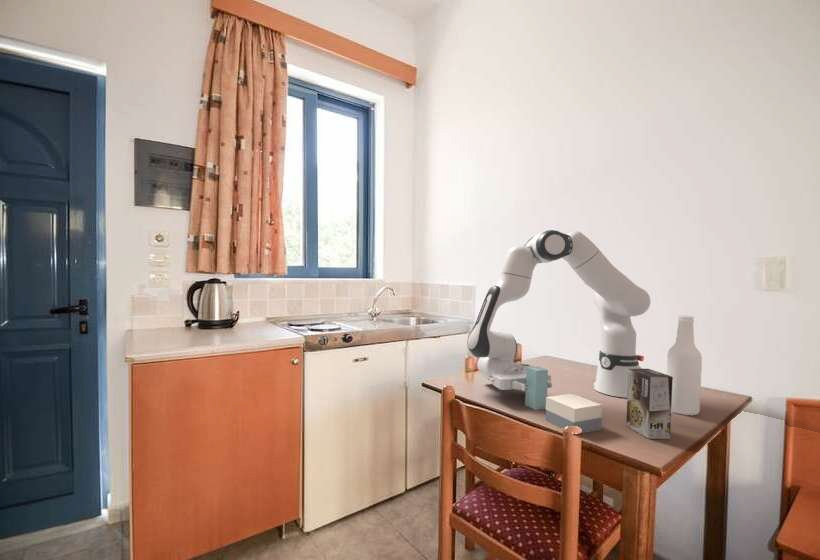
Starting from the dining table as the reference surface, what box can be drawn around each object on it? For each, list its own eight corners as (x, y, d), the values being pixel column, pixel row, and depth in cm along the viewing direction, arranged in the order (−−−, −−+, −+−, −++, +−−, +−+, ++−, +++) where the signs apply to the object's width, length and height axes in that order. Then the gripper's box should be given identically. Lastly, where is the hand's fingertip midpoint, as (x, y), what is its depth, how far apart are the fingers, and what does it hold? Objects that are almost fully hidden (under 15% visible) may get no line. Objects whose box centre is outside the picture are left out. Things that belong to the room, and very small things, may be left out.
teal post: (536, 403, 122) (537, 366, 122) (546, 408, 118) (548, 369, 118) (525, 405, 120) (526, 367, 120) (534, 409, 116) (536, 370, 116)
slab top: (571, 405, 112) (571, 393, 112) (601, 417, 103) (601, 404, 103) (545, 409, 108) (546, 397, 108) (574, 422, 99) (574, 408, 99)
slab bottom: (572, 418, 112) (573, 406, 112) (601, 431, 102) (601, 418, 102) (545, 421, 108) (546, 409, 108) (572, 436, 99) (573, 422, 99)
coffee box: (671, 439, 98) (674, 376, 98) (647, 439, 97) (650, 376, 97) (646, 425, 107) (649, 368, 107) (624, 425, 106) (627, 367, 106)
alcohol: (694, 418, 114) (699, 318, 113) (660, 409, 120) (665, 315, 120) (702, 412, 119) (707, 316, 119) (670, 404, 126) (674, 313, 126)
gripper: (485, 368, 127) (511, 379, 114) (534, 364, 135) (563, 374, 122) (484, 386, 127) (510, 399, 114) (533, 382, 135) (562, 393, 122)
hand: (538, 386), depth 118 cm, fingers open, 8 cm apart
